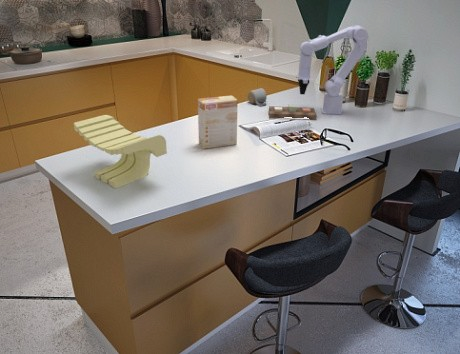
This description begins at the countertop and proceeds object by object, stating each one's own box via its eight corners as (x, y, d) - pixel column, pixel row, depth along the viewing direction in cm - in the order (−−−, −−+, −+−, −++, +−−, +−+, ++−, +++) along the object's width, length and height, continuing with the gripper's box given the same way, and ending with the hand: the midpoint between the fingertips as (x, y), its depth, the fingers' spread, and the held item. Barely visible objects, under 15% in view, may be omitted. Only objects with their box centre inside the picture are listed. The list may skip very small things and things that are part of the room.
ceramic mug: (246, 102, 237) (247, 88, 234) (258, 100, 241) (259, 86, 238) (257, 107, 229) (258, 93, 226) (269, 105, 233) (270, 91, 230)
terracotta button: (309, 113, 219) (309, 108, 218) (310, 116, 216) (310, 110, 214) (301, 113, 219) (302, 107, 218) (302, 115, 216) (302, 110, 215)
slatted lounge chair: (168, 180, 151) (165, 132, 143) (130, 196, 140) (125, 145, 132) (117, 156, 169) (112, 112, 161) (80, 169, 158) (73, 122, 150)
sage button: (295, 110, 219) (296, 104, 217) (296, 112, 215) (296, 107, 214) (288, 110, 219) (288, 104, 218) (288, 112, 216) (289, 106, 214)
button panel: (313, 112, 223) (313, 107, 222) (316, 120, 212) (316, 115, 211) (268, 110, 224) (269, 106, 223) (269, 118, 213) (269, 113, 212)
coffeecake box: (231, 139, 188) (231, 95, 179) (237, 144, 182) (238, 99, 173) (198, 143, 183) (197, 98, 174) (203, 149, 177) (202, 103, 168)
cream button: (281, 112, 220) (282, 107, 218) (281, 115, 216) (282, 109, 215) (274, 112, 220) (274, 106, 219) (274, 114, 217) (274, 109, 215)
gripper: (295, 63, 221) (293, 90, 227) (298, 70, 208) (295, 97, 214) (309, 64, 221) (306, 90, 227) (313, 70, 208) (310, 98, 214)
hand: (302, 94), depth 220 cm, fingers closed
